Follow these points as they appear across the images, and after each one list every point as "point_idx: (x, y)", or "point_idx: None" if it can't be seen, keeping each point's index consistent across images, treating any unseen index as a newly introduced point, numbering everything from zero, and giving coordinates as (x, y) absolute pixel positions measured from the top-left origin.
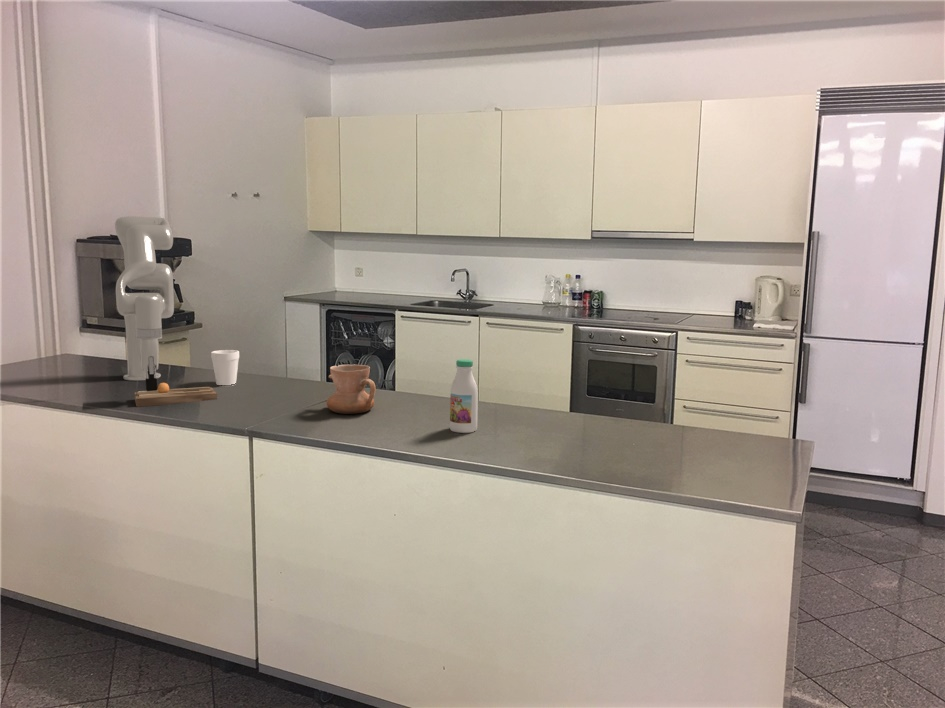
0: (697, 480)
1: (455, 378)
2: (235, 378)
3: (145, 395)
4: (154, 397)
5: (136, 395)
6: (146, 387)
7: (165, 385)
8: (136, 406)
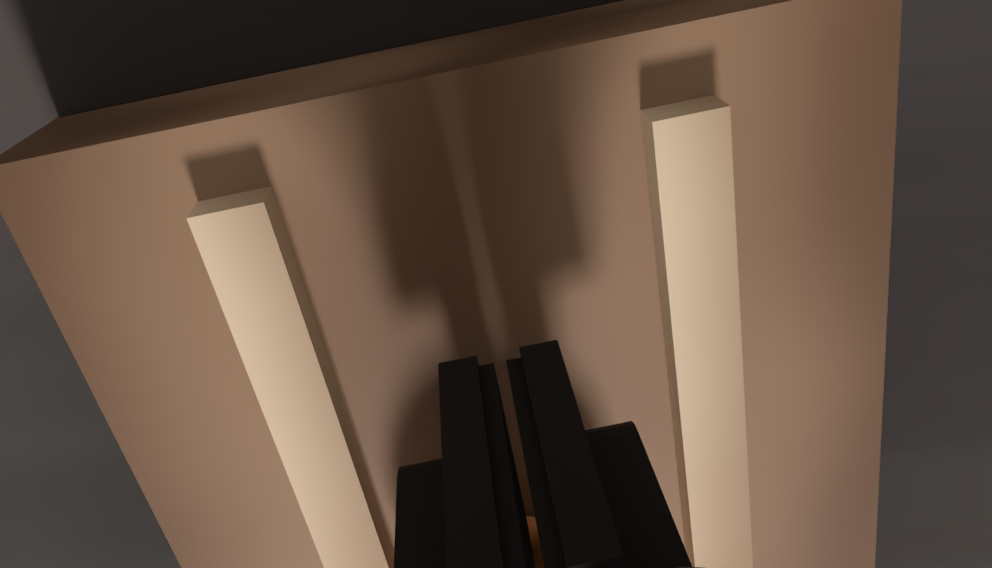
0: None
1: None
2: None
3: (235, 333)
4: (161, 478)
5: (433, 102)
6: (444, 410)
7: None
8: (53, 120)
